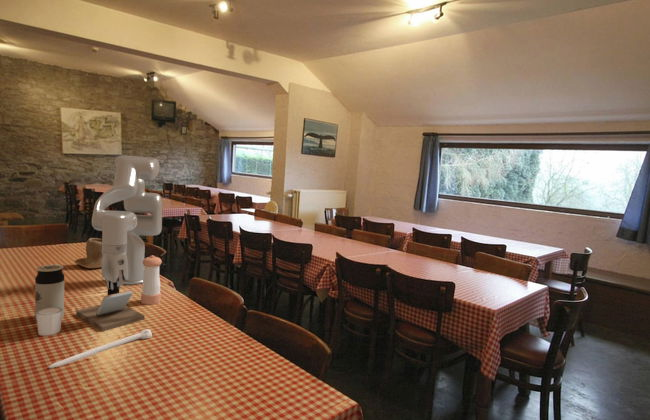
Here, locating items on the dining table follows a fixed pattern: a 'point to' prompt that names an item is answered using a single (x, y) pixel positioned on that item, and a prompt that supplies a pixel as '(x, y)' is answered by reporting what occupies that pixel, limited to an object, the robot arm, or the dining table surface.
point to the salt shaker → (151, 281)
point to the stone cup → (92, 254)
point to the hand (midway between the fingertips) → (113, 299)
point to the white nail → (104, 347)
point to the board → (109, 317)
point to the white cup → (49, 320)
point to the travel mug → (49, 287)
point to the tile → (114, 303)
